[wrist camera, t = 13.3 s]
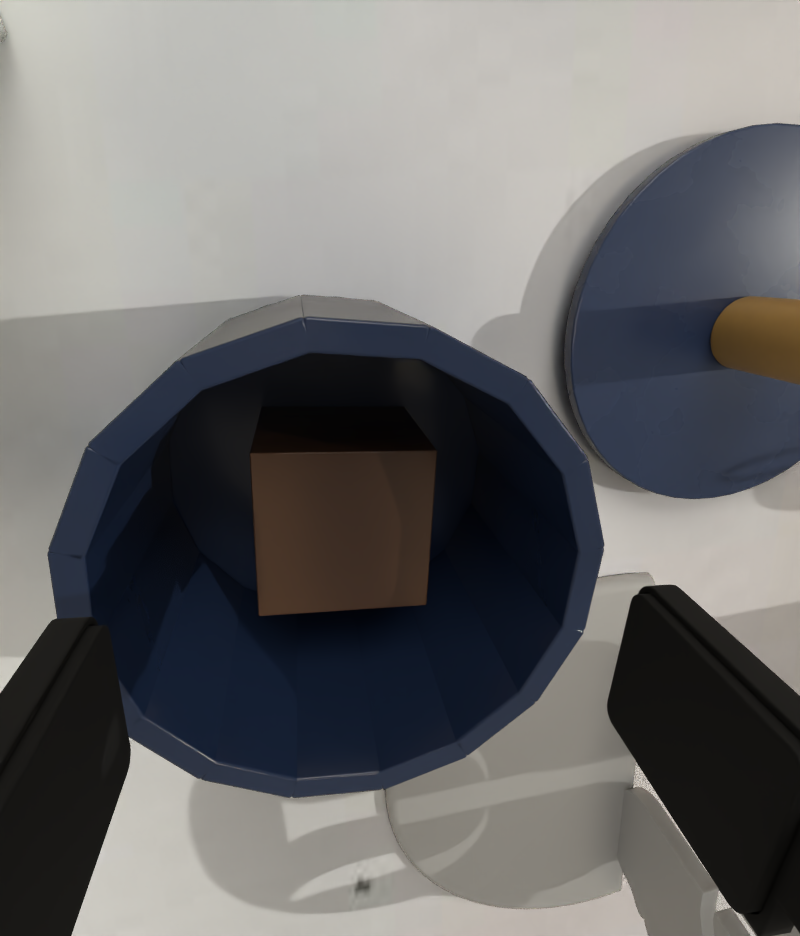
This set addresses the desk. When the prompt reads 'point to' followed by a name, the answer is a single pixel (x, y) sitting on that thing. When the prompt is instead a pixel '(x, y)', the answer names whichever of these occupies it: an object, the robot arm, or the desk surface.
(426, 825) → the grey metal bookend
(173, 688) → the tin
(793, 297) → the tin lid
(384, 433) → the block
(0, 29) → the cosmetic box
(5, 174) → the desk surface
